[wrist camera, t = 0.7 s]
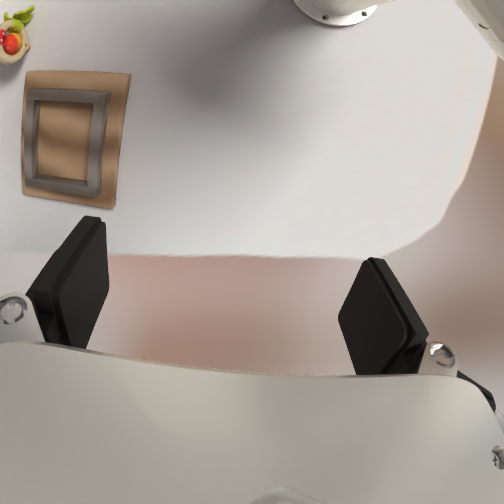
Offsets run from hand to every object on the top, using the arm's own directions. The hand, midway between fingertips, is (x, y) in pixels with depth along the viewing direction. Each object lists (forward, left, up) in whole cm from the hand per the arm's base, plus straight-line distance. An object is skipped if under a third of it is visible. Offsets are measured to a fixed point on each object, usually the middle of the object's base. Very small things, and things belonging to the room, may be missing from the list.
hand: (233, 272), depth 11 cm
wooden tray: (+7, -23, -34) cm, 42 cm away
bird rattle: (-9, -34, -35) cm, 50 cm away
